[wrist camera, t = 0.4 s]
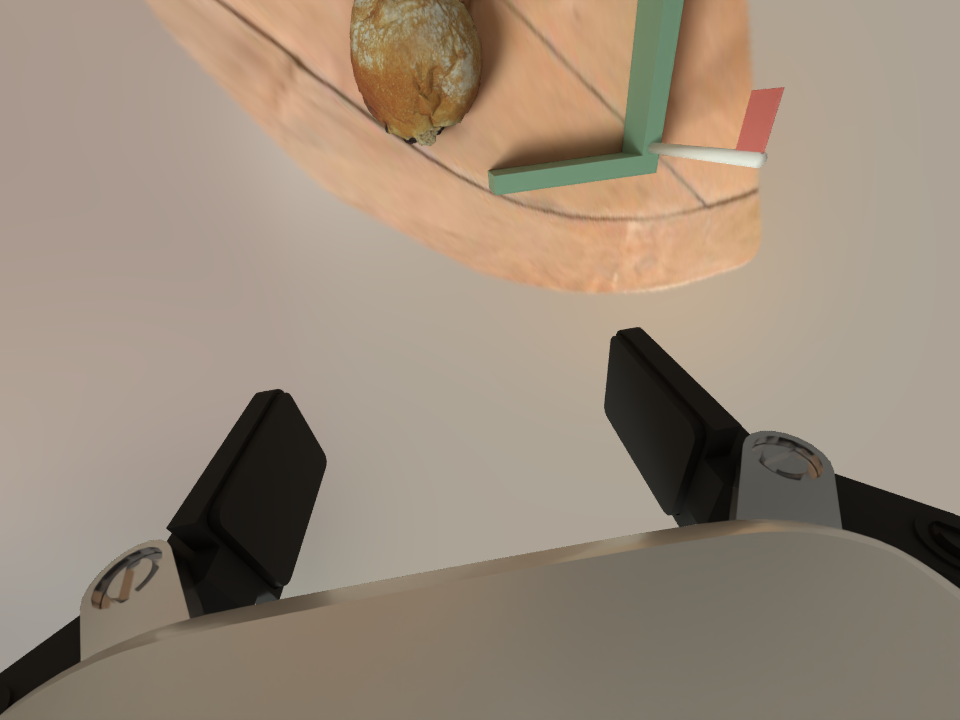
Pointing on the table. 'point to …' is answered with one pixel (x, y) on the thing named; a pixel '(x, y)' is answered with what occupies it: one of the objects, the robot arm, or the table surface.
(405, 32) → the bread roll
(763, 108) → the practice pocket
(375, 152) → the table surface
